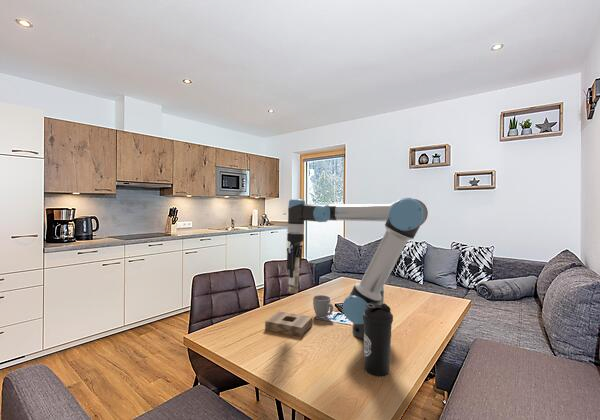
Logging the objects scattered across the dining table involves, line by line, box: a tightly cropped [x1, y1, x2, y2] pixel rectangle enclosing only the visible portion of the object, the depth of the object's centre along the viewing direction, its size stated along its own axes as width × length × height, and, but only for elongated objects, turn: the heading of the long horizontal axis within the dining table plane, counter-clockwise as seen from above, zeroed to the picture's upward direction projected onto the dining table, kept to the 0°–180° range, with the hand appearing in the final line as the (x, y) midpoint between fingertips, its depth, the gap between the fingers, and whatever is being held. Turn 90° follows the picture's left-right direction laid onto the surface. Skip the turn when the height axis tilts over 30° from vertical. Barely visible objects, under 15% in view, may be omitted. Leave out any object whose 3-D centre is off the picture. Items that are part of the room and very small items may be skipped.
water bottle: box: [363, 303, 394, 377], centre depth 106 cm, size 10×10×23 cm
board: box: [264, 310, 313, 337], centre depth 141 cm, size 18×14×4 cm
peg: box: [288, 257, 300, 294], centre depth 139 cm, size 4×4×16 cm
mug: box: [312, 294, 334, 319], centre depth 155 cm, size 12×9×10 cm
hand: (293, 282), depth 139 cm, fingers closed on peg, 4 cm apart
